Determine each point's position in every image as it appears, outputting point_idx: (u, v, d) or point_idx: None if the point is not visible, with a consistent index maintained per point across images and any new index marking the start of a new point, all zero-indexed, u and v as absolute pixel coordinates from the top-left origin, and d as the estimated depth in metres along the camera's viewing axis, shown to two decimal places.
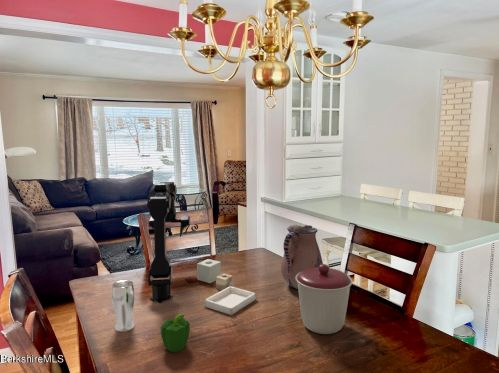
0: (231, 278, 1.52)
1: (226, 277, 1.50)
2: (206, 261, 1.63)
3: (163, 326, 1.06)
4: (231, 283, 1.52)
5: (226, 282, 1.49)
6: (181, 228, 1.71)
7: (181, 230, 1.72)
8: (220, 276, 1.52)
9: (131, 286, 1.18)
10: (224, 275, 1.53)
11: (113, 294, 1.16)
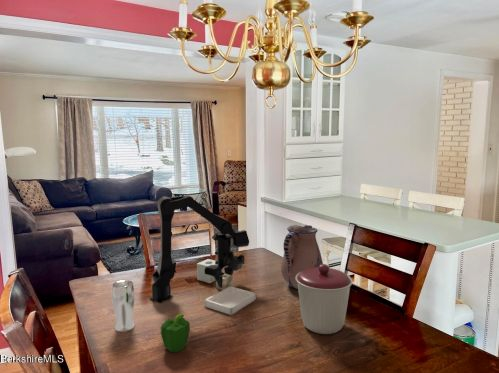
0: (231, 278, 1.52)
1: (226, 277, 1.50)
2: (206, 261, 1.63)
3: (163, 326, 1.06)
4: (231, 283, 1.52)
5: (226, 282, 1.49)
6: None
7: None
8: None
9: (131, 286, 1.18)
10: (224, 275, 1.53)
11: (113, 294, 1.16)
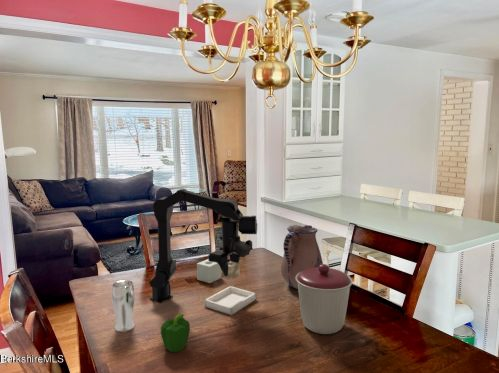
0: (238, 266, 1.37)
1: (232, 264, 1.36)
2: (206, 261, 1.63)
3: (163, 326, 1.06)
4: (238, 271, 1.37)
5: (232, 270, 1.34)
6: None
7: None
8: None
9: (131, 286, 1.18)
10: (230, 262, 1.38)
11: (113, 294, 1.16)
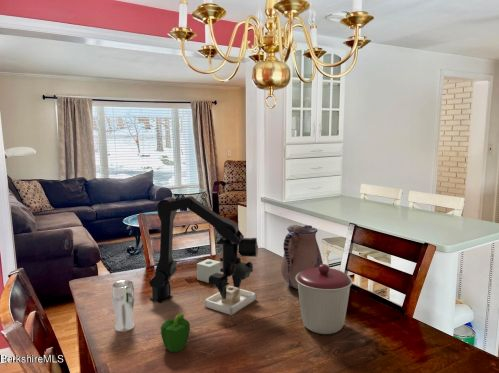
0: (238, 291, 1.37)
1: (232, 290, 1.36)
2: (206, 261, 1.63)
3: (163, 326, 1.06)
4: (238, 296, 1.37)
5: (232, 296, 1.34)
6: None
7: None
8: (226, 289, 1.37)
9: (131, 286, 1.18)
10: (230, 287, 1.38)
11: (113, 294, 1.16)
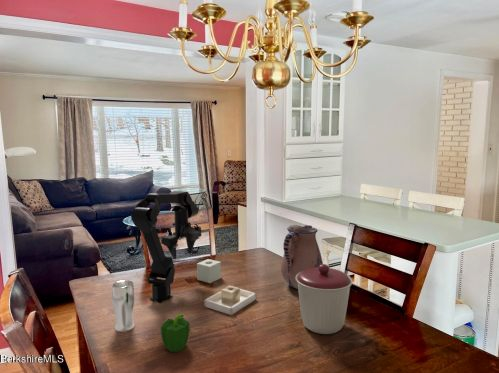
0: (238, 291, 1.37)
1: (232, 290, 1.36)
2: (206, 261, 1.63)
3: (163, 326, 1.06)
4: (238, 296, 1.37)
5: (232, 296, 1.34)
6: None
7: None
8: (226, 289, 1.37)
9: (131, 286, 1.18)
10: (230, 287, 1.38)
11: (113, 294, 1.16)
